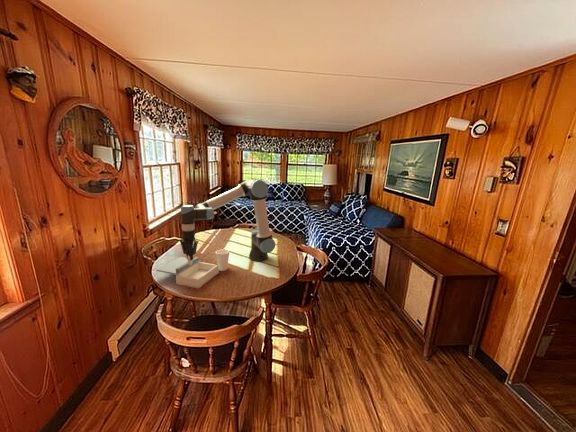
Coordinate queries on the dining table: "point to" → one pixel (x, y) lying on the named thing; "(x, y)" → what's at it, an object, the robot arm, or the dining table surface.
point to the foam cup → (222, 259)
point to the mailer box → (197, 275)
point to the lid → (177, 266)
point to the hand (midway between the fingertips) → (190, 264)
